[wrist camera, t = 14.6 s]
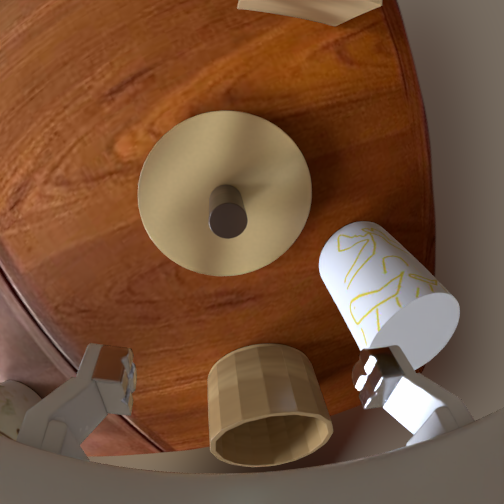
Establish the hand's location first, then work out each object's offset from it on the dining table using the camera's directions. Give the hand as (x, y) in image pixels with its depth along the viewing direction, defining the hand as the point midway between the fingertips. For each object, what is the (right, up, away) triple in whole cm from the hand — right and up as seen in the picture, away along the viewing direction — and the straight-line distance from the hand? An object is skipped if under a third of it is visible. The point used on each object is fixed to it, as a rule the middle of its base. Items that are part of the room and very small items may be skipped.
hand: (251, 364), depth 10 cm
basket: (+1, -12, +27) cm, 30 cm away
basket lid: (-2, +8, +15) cm, 17 cm away
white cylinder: (+10, +3, +20) cm, 23 cm away
